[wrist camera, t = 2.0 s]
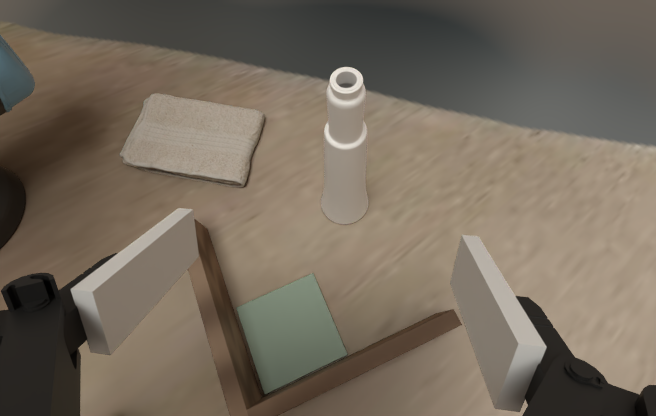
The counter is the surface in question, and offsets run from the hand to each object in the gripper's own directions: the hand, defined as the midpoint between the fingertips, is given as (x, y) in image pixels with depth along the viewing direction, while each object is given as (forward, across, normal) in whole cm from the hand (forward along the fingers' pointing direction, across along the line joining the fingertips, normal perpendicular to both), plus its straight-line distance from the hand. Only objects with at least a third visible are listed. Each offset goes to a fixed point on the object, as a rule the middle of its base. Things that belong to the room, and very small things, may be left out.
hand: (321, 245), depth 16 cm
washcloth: (+30, -22, -3) cm, 38 cm away
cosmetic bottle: (+25, 0, -8) cm, 27 cm away
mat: (+14, -5, -20) cm, 24 cm away
